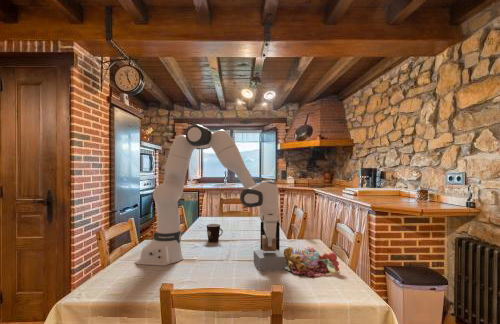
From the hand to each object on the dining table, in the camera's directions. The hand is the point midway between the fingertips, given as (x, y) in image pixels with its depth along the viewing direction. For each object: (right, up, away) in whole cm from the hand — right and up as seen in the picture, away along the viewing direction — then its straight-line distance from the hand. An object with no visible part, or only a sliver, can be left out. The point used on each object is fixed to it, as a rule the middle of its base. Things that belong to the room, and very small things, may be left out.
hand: (268, 243), depth 134 cm
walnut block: (0, -3, 0) cm, 3 cm away
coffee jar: (+2, -11, +23) cm, 25 cm away
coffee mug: (-32, -11, +42) cm, 53 cm away
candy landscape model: (+19, -11, -2) cm, 22 cm away
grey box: (0, -11, 0) cm, 11 cm away
